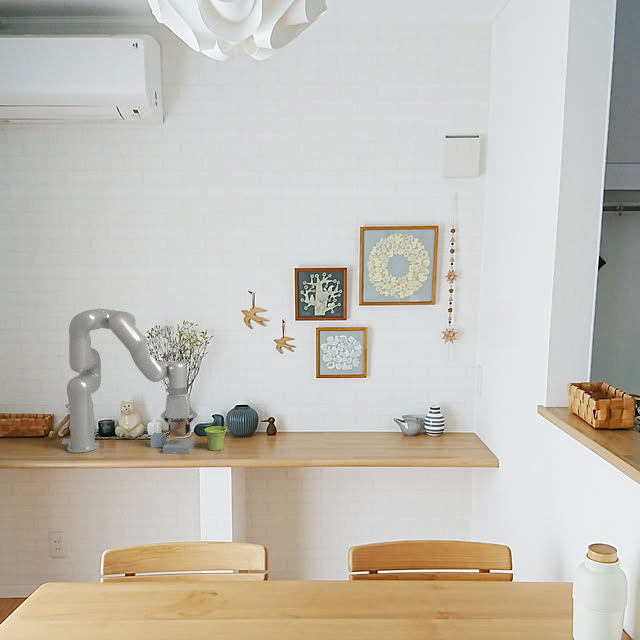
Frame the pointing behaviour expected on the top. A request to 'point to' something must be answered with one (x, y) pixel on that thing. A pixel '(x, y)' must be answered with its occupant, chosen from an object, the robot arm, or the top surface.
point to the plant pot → (215, 437)
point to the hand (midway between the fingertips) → (179, 432)
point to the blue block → (158, 439)
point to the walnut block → (178, 428)
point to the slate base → (179, 446)
